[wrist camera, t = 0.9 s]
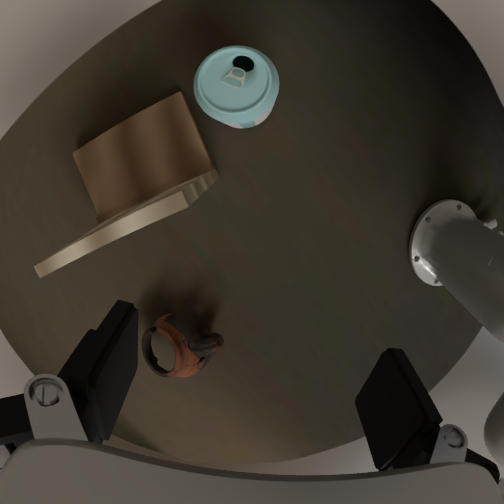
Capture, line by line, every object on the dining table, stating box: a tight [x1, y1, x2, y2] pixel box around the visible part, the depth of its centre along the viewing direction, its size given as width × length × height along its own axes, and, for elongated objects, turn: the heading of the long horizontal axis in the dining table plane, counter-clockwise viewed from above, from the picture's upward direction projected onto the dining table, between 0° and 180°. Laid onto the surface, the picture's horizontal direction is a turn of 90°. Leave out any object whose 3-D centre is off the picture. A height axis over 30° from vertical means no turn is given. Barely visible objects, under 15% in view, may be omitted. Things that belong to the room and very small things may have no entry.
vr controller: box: [142, 313, 224, 377], centre depth 41 cm, size 12×9×8 cm
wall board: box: [34, 91, 219, 278], centre depth 27 cm, size 16×11×16 cm
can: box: [194, 46, 279, 128], centre depth 26 cm, size 7×7×12 cm
